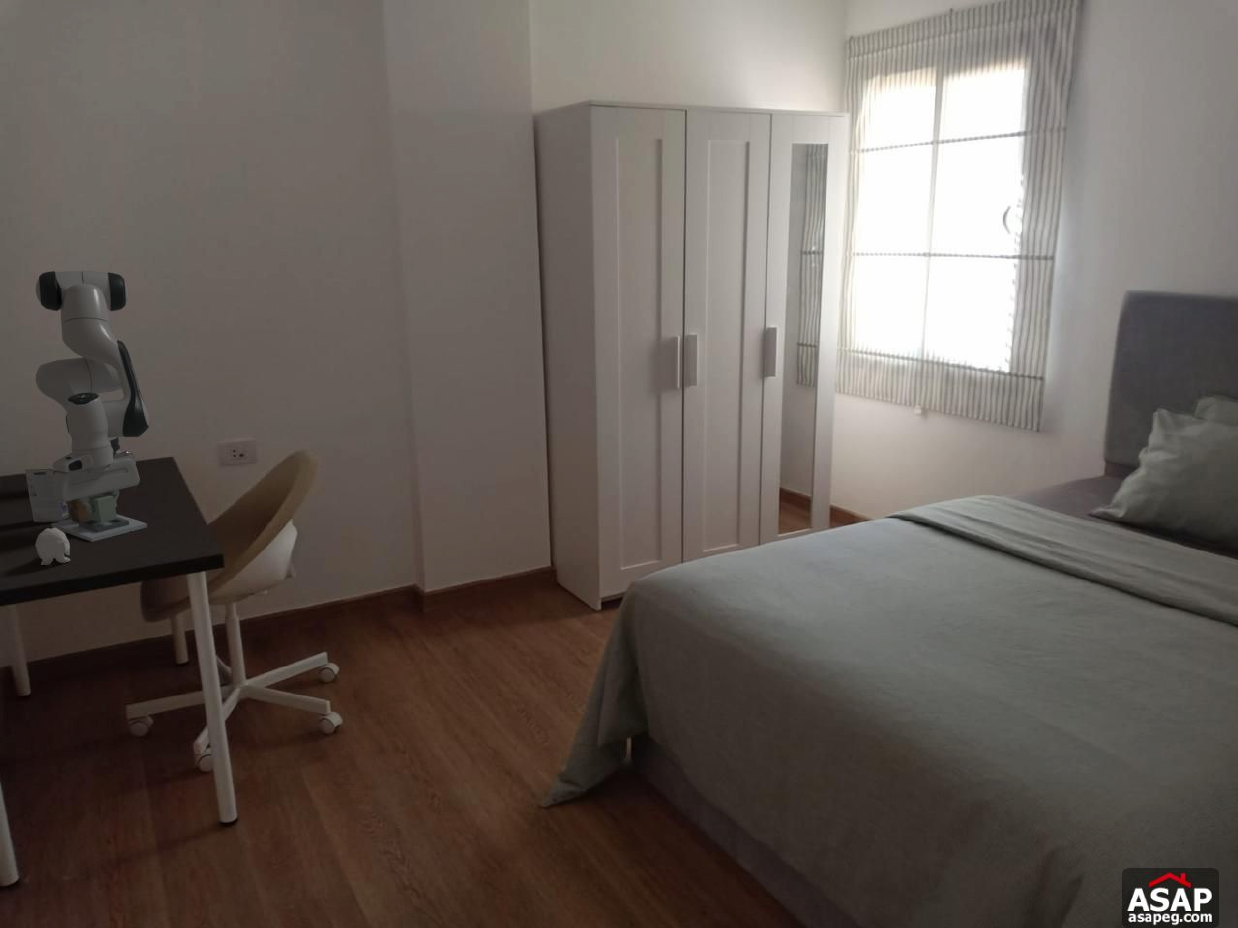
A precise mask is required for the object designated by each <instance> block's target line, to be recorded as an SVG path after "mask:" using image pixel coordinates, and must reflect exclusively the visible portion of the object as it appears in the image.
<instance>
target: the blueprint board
mask: <svg viewBox="0 0 1238 928" xmlns="http://www.w3.org/2000/svg"><path fill="white" fill-rule="evenodd" d="M68 507H69V513H70V517H71V518H69V519H67V520H65V521H61V522H52V523H51V529H52V528H57V529H59V530H60V531H62V532H64V533H65V534H69V535H72V536H74V537H77V538H80V539H83V540H84V541H85V540H87V541H89V542H92V543H93V542H96V541H100V540H104V539H108V538H111V537H114V536H119V535H122V534H126V533H131V532H135V531H137V530H142V529H145V528H148V525H147V524H148V523H147V522H143V521H140V520H137V519H134V518H130V517H127V516H124V515H121V514H117V513H116V515H117V519H115V520H111V521H107V522H103V523H100V522H97V521H94V520H91V519H90V515H89V513H87V511H86V506H84V505H83V504H82V502H81V501H80V499H75V500H71V501H68ZM130 531H131V532H130Z"/></svg>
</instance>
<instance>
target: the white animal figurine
mask: <svg viewBox="0 0 1238 928" xmlns="http://www.w3.org/2000/svg"><path fill="white" fill-rule="evenodd" d="M35 541H36V542H35V546H34V547H36V552H37V554H38V555H39V558H40V559H41V560H42V561H41V563H40V565H41V566H42V565H46V566H49V565H50V564H51V563H52V562H54V559H55V560H56V561H57V562H58V563H61V564H67V563H66V562H68V563H70V562H71V559H70V558H69V557H66V556H70V555H71V554H70V549H71V548H72V546H70V542H69V539H68V537H67V536H66V532H63V531H60V530H59V529H57V528H52V527H51V528H49V527H47V528H45V529H44V530H43V531H41V532H40V533H39V534H38V536H37V538H36V540H35ZM65 555H66V556H65ZM69 561H70V562H69Z"/></svg>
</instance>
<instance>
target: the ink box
mask: <svg viewBox="0 0 1238 928" xmlns="http://www.w3.org/2000/svg"><path fill="white" fill-rule="evenodd" d="M39 472H41V473H45V474H35V473H39ZM54 473H55V469H54V468H39V469H35V468H34V469H32V468H31V469H25V477H26V484H27V491H28V496H29V502H30V506H31V511H32V512H31V513H32V518H33V522H34V523H57V522H61V521H65V520H69V519H71V518H70V517H71V516H70V510H69V508H68V507H69V505H68V501H66V502H62V501H59V500H57V499H56V498H55V497H54V492H53V475H54Z"/></svg>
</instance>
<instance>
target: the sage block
mask: <svg viewBox="0 0 1238 928" xmlns="http://www.w3.org/2000/svg"><path fill="white" fill-rule="evenodd" d="M87 502H88V503H89V504H90V505H94V506H95V512H94V513H90V514H89V515H90V519H91V520H94V521H97V522H100V523H103V522H107V521H111V520H115V519H117V515H116V514H117V509H116V507H115V503H114V497H113V496H112V495H109V494H106V493H101V494H97V495H92V496H89V501H87Z"/></svg>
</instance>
